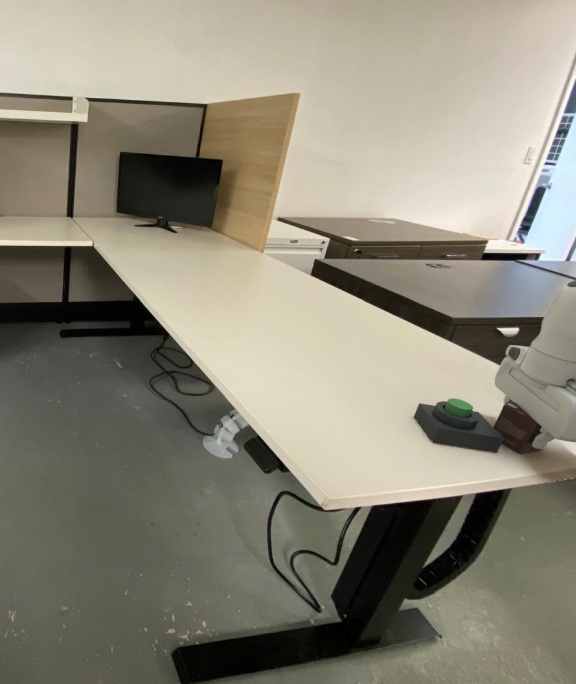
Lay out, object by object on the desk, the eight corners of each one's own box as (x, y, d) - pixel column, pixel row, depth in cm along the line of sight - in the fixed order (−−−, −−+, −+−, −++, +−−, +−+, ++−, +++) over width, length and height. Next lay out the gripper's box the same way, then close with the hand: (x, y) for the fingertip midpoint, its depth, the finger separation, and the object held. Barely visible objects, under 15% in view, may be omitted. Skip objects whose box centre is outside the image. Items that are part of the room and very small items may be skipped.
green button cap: (462, 409, 90) (466, 400, 89) (473, 420, 87) (477, 411, 86) (440, 405, 91) (444, 396, 90) (449, 416, 87) (454, 407, 86)
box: (543, 451, 87) (562, 418, 84) (519, 454, 86) (537, 421, 82) (510, 432, 92) (527, 400, 89) (488, 435, 91) (503, 403, 88)
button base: (472, 425, 94) (482, 404, 92) (497, 452, 86) (508, 430, 84) (413, 416, 95) (422, 395, 93) (432, 442, 87) (442, 420, 85)
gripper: (622, 400, 72) (578, 470, 78) (538, 346, 91) (508, 406, 97) (576, 394, 73) (537, 464, 79) (503, 342, 92) (475, 402, 97)
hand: (520, 432), depth 88 cm, fingers closed on box, 7 cm apart
